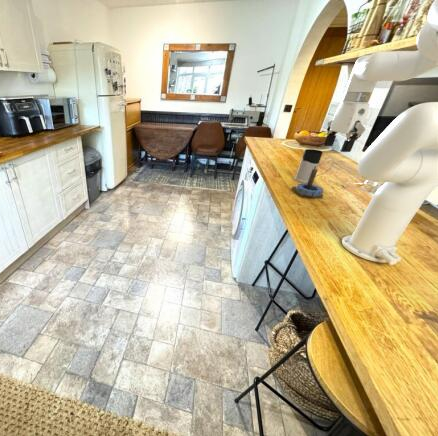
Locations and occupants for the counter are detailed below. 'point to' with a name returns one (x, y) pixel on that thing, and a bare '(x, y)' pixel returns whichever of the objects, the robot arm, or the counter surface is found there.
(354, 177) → the counter surface
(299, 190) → the ring
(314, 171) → the stand
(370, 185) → the wineglass
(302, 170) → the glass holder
